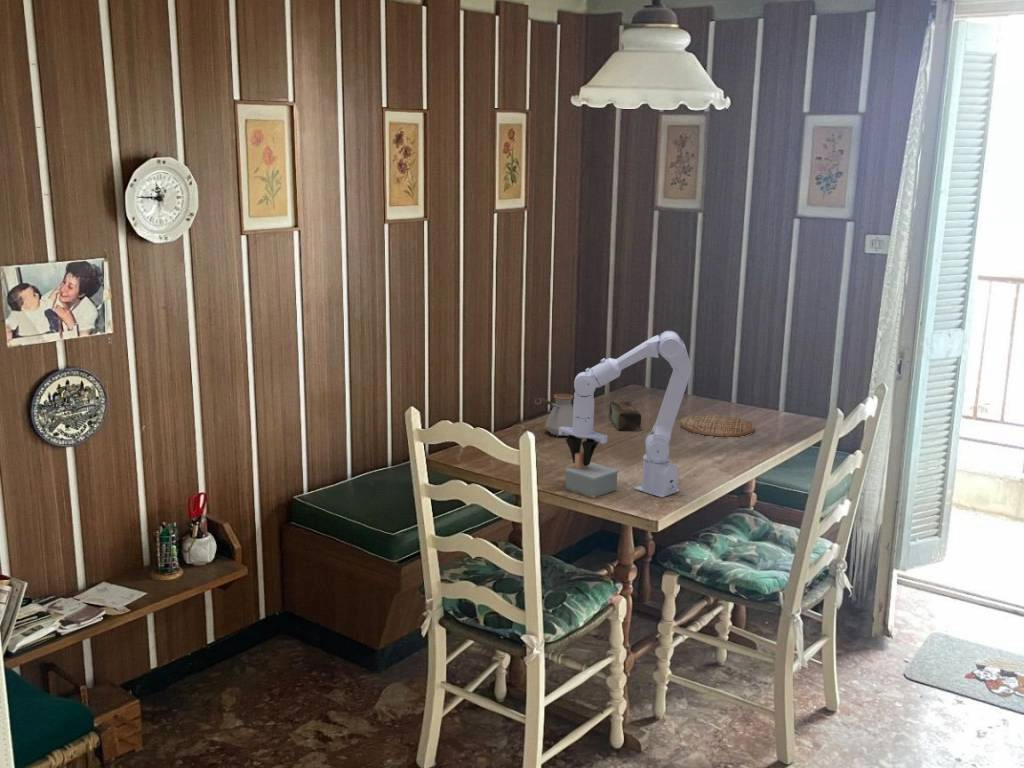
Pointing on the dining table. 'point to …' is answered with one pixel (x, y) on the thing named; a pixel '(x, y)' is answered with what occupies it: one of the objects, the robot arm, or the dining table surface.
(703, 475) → the dining table surface
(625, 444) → the dining table surface
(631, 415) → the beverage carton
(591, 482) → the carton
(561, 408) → the coffee pot
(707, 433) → the trivet
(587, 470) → the lid
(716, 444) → the dining table surface
